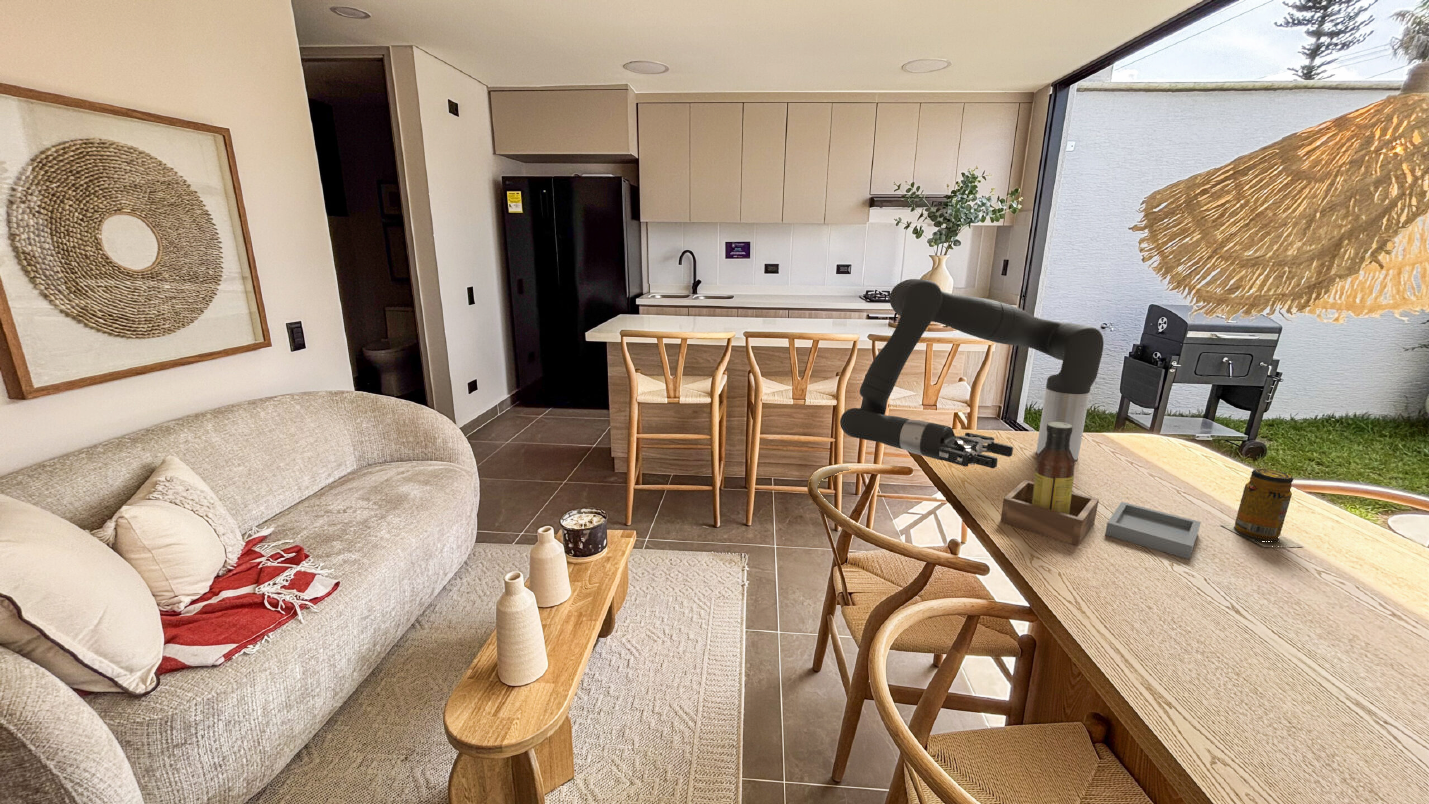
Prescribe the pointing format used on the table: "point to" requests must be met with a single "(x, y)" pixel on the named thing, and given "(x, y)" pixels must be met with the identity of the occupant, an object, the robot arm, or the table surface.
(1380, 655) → the table surface
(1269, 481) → the condiment
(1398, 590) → the table surface
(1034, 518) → the holder
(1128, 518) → the tray
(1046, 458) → the sauce bottle
